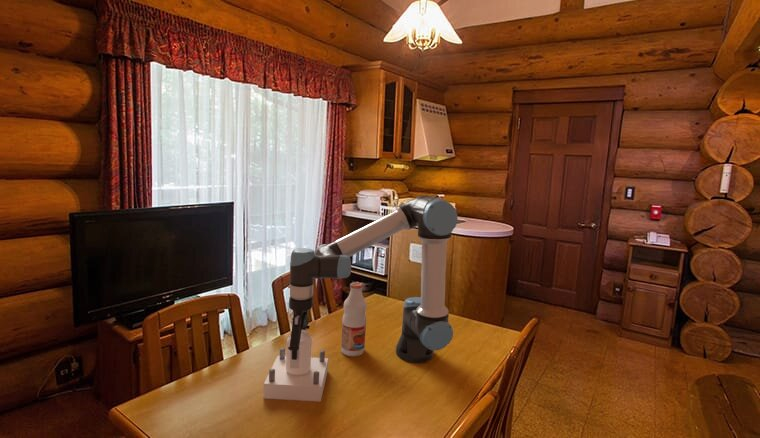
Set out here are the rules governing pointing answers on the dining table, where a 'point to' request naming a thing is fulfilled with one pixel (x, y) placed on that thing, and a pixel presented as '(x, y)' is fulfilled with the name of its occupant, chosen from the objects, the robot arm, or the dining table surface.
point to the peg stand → (296, 380)
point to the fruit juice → (354, 322)
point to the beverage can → (304, 355)
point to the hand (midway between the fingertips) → (298, 357)
